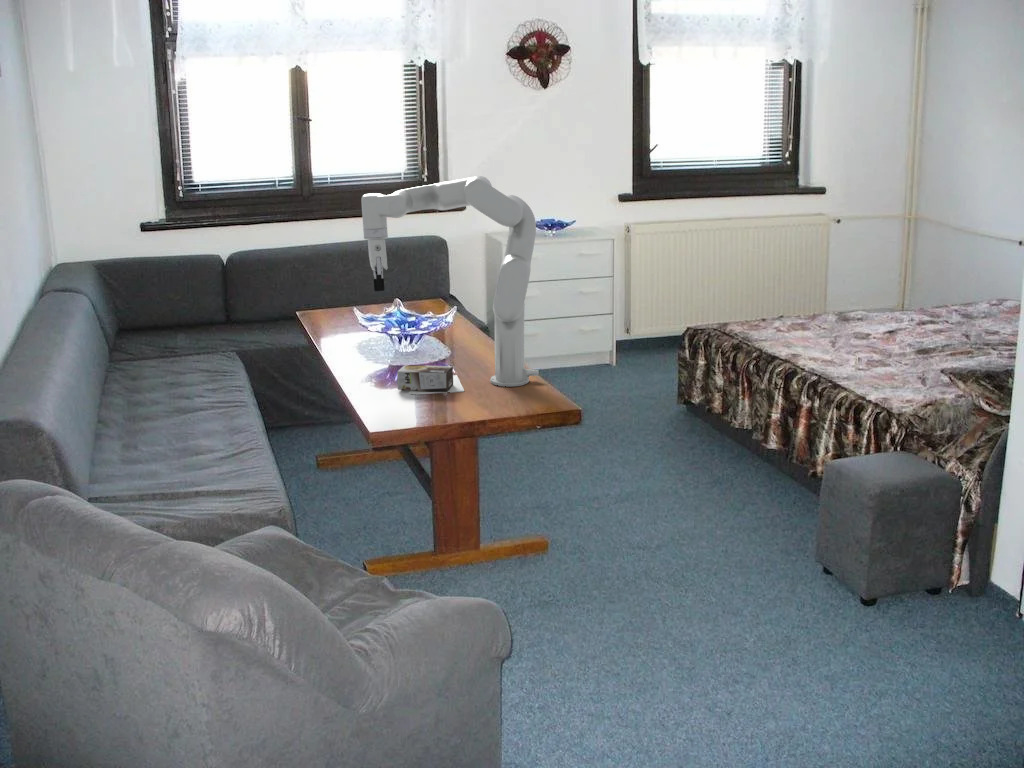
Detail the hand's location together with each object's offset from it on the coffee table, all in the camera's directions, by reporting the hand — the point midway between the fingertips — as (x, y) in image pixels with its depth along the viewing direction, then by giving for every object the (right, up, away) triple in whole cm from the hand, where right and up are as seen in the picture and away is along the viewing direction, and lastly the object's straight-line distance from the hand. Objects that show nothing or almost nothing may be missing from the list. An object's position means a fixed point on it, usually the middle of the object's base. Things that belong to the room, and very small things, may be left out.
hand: (379, 290), depth 354 cm
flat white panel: (+17, -30, +3) cm, 35 cm away
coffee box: (+7, -28, 0) cm, 29 cm away
